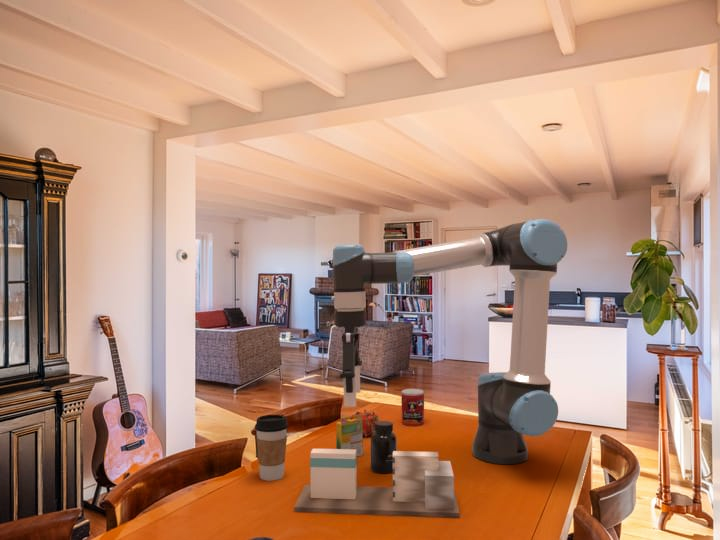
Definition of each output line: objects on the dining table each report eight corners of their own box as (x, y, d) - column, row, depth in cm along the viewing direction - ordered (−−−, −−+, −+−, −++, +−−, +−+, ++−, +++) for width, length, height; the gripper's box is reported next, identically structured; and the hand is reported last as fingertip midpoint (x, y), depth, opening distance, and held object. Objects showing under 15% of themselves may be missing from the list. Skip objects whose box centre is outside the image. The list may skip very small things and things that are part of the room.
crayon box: (357, 452, 148) (357, 411, 148) (363, 455, 145) (363, 414, 146) (335, 457, 144) (335, 415, 144) (341, 460, 141) (341, 418, 142)
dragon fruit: (382, 437, 166) (349, 449, 160) (368, 417, 172) (337, 428, 166) (387, 420, 161) (354, 432, 155) (374, 400, 167) (341, 411, 161)
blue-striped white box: (356, 493, 117) (356, 449, 117) (355, 499, 114) (355, 454, 114) (312, 492, 118) (312, 448, 118) (310, 498, 115) (310, 452, 115)
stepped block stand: (454, 493, 119) (453, 445, 119) (459, 517, 107) (459, 464, 107) (305, 488, 122) (305, 442, 123) (294, 511, 111) (293, 460, 111)
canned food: (400, 426, 174) (400, 393, 174) (402, 419, 181) (402, 388, 182) (423, 427, 172) (423, 394, 172) (424, 420, 180) (424, 388, 180)
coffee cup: (260, 485, 125) (260, 423, 125) (250, 473, 132) (250, 414, 132) (293, 478, 129) (293, 418, 129) (282, 467, 136) (282, 410, 136)
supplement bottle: (395, 475, 131) (394, 427, 131) (368, 473, 132) (368, 426, 132) (398, 465, 137) (398, 420, 138) (373, 463, 139) (372, 418, 139)
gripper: (339, 306, 135) (342, 387, 135) (327, 314, 111) (330, 413, 110) (368, 306, 135) (370, 387, 135) (362, 313, 110) (365, 412, 110)
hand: (352, 399), depth 123 cm, fingers open, 13 cm apart
